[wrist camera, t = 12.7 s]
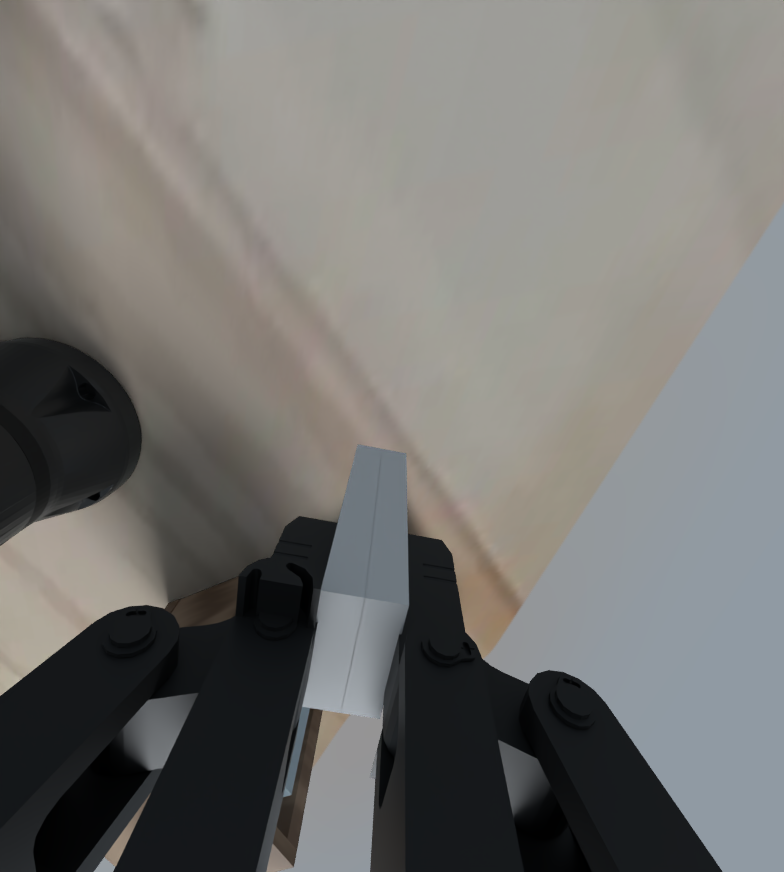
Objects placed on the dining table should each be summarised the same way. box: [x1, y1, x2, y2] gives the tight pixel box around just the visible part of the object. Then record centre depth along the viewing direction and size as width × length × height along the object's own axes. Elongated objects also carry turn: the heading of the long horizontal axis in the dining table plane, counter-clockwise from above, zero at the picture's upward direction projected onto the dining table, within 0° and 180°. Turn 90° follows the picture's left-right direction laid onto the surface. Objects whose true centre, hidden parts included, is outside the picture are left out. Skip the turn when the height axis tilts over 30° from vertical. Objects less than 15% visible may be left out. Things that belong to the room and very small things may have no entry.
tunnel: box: [105, 576, 323, 872], centre depth 39 cm, size 12×14×18 cm
